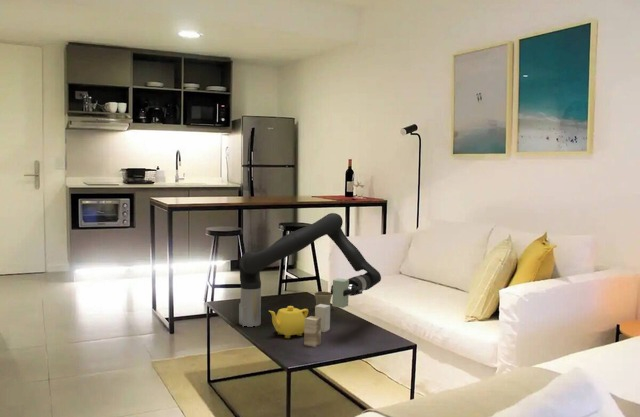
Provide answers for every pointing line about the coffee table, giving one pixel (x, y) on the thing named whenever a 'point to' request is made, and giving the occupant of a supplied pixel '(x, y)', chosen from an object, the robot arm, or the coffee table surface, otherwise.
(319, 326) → the birch pillar
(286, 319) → the teapot
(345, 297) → the sage pillar
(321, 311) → the offwhite pillar
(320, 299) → the flower pot
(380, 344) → the coffee table surface
